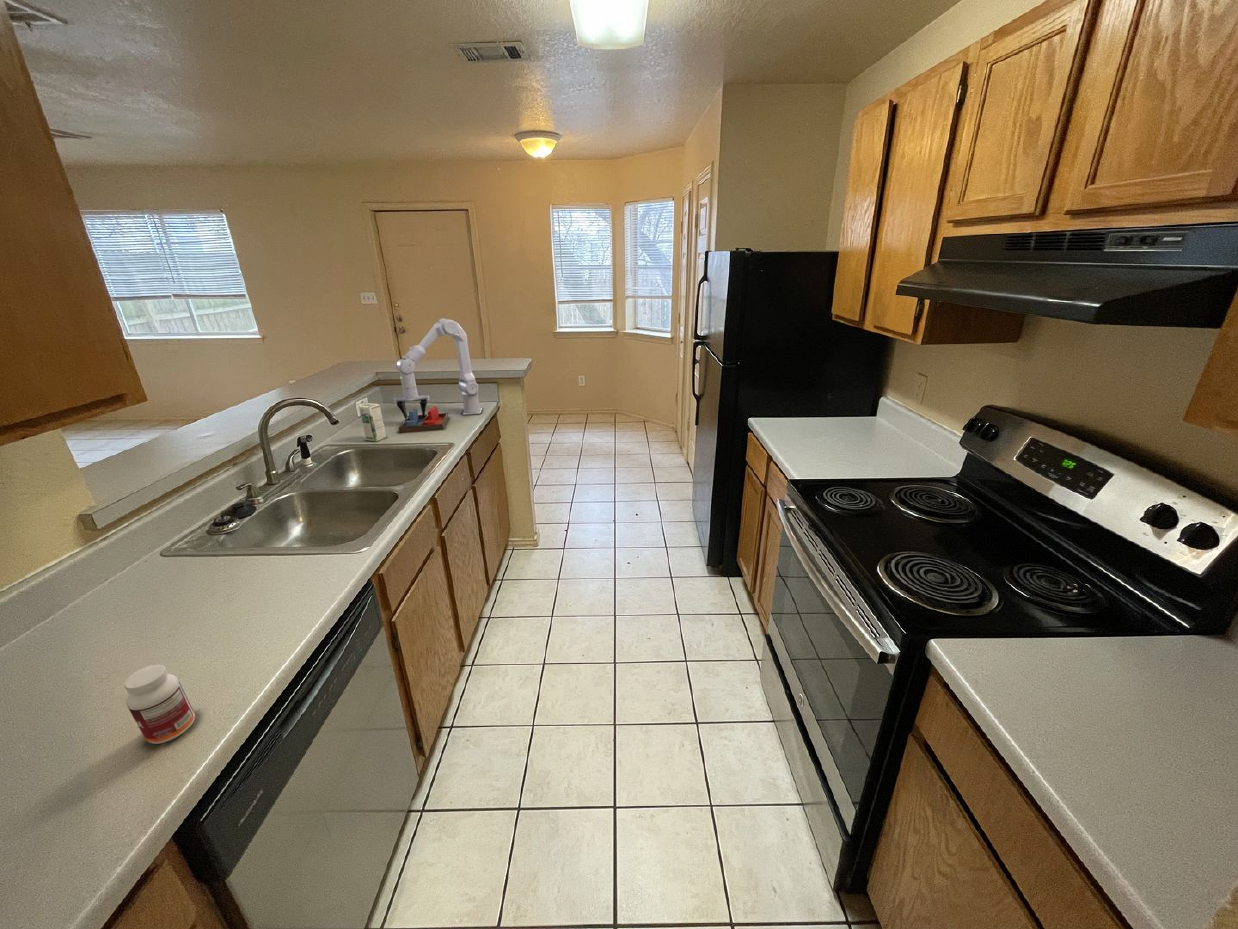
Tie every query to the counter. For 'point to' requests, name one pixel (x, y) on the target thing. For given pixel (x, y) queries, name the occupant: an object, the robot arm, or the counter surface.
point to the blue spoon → (412, 418)
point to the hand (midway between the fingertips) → (415, 417)
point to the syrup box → (372, 421)
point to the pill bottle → (158, 704)
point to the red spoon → (432, 416)
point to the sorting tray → (421, 426)
